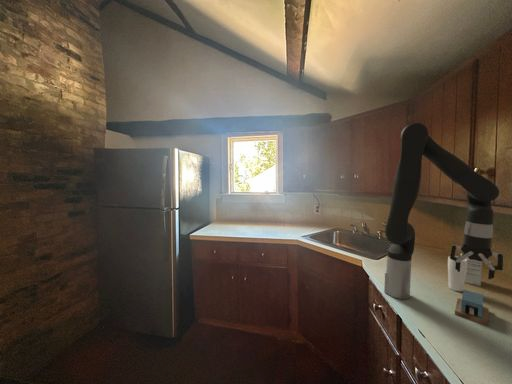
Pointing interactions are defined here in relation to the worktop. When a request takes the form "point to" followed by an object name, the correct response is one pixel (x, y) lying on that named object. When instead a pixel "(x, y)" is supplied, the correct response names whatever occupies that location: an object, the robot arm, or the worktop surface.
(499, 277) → the worktop surface
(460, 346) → the worktop surface
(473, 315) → the rail stand
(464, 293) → the block
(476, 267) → the supplement box
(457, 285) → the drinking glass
